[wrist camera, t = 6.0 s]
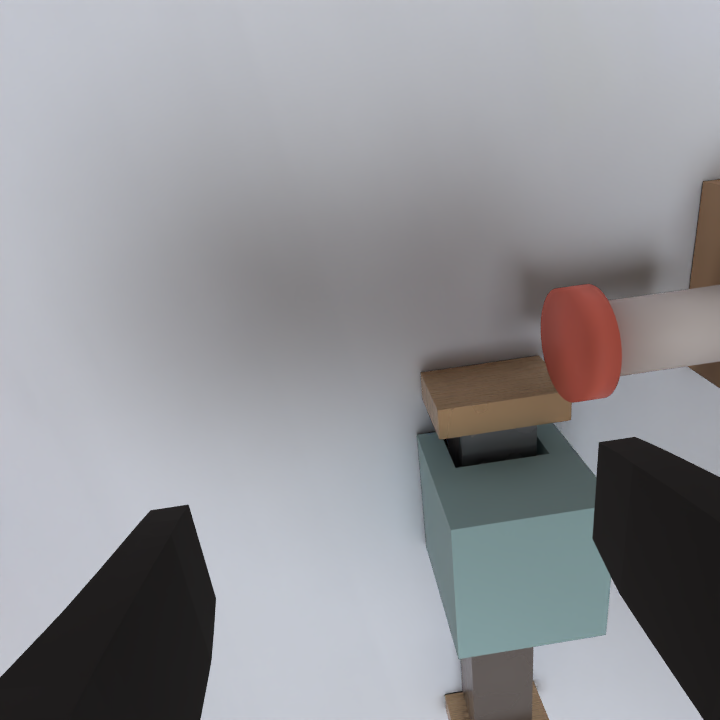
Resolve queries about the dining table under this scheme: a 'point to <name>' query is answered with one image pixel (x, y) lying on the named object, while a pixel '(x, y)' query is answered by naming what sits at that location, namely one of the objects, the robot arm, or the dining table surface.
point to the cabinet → (707, 258)
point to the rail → (486, 445)
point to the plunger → (624, 336)
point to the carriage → (514, 546)
